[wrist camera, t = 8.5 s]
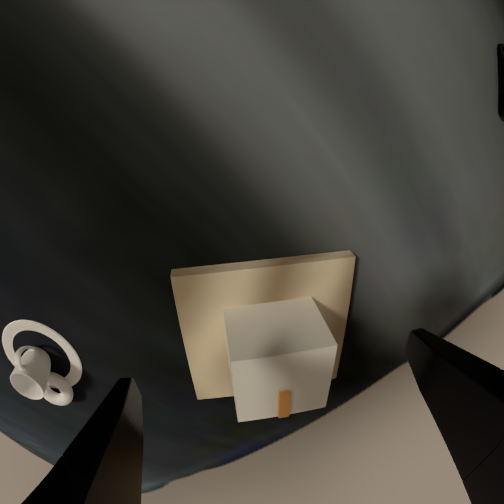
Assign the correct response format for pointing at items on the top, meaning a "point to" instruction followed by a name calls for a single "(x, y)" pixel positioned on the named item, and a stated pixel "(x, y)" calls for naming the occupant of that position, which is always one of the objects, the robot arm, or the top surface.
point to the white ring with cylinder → (40, 365)
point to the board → (254, 292)
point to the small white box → (278, 358)
